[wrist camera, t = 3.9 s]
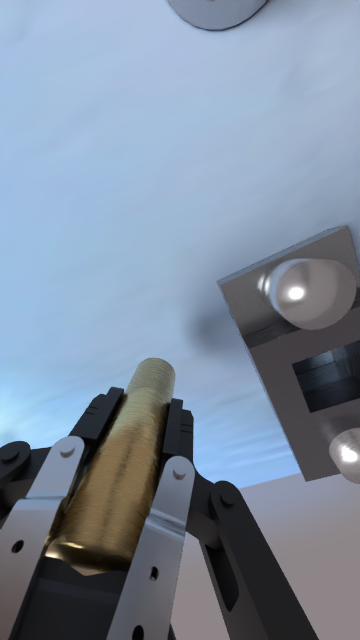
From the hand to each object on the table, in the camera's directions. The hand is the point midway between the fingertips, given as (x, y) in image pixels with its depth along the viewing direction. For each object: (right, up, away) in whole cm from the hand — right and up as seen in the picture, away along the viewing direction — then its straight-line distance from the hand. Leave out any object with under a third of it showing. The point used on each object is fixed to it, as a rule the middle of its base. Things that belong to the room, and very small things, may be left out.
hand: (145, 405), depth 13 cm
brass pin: (0, +1, +3) cm, 3 cm away
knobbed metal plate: (+14, +2, +8) cm, 17 cm away
